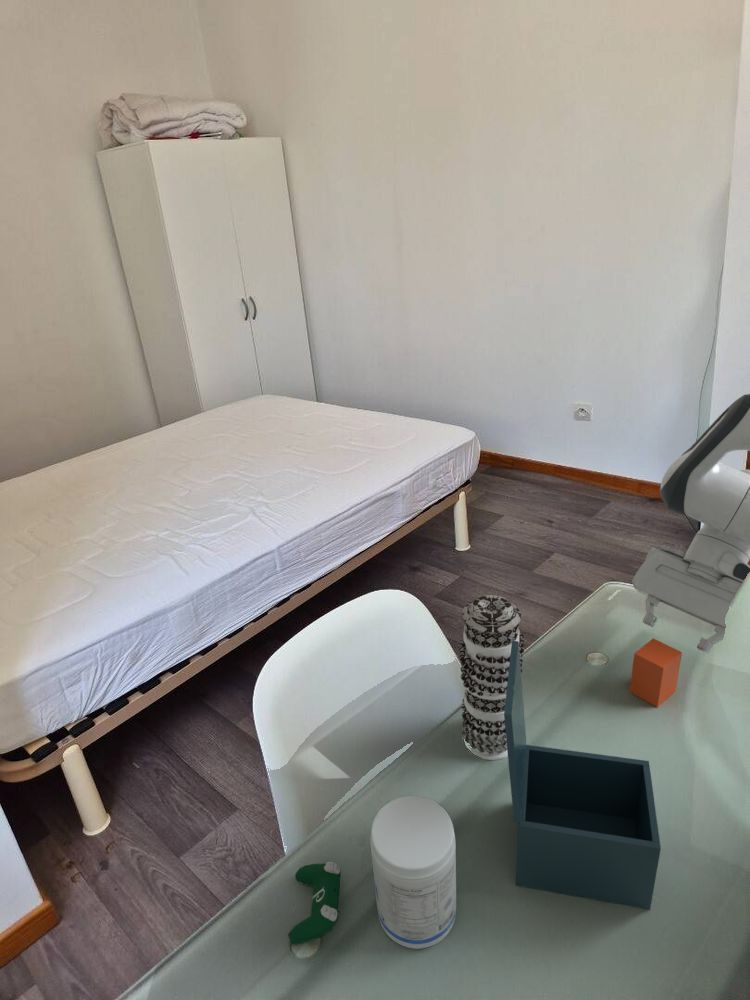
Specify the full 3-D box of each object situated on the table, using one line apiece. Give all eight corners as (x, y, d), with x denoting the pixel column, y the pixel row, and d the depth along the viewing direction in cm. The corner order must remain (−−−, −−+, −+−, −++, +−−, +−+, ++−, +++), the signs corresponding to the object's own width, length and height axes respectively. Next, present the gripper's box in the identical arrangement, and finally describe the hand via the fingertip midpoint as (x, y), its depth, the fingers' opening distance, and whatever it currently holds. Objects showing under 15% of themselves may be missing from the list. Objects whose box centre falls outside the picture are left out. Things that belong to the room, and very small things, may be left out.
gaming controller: (309, 957, 80) (343, 933, 78) (284, 943, 79) (317, 919, 77) (316, 882, 88) (346, 859, 86) (293, 869, 87) (323, 846, 85)
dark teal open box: (640, 819, 92) (648, 760, 87) (650, 910, 81) (660, 848, 76) (520, 801, 95) (523, 744, 91) (515, 885, 85) (517, 825, 80)
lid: (518, 641, 83) (511, 640, 84) (511, 714, 73) (503, 714, 73) (526, 741, 90) (520, 741, 91) (521, 823, 79) (514, 822, 80)
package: (675, 691, 113) (682, 652, 109) (657, 707, 109) (663, 668, 106) (647, 676, 116) (653, 638, 113) (629, 691, 113) (634, 653, 110)
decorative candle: (532, 737, 106) (539, 602, 95) (496, 772, 100) (498, 634, 89) (485, 708, 112) (486, 579, 101) (448, 740, 106) (445, 607, 95)
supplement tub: (377, 875, 87) (369, 794, 80) (452, 873, 87) (450, 790, 80) (377, 955, 78) (368, 870, 72) (461, 952, 78) (459, 867, 71)
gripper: (649, 534, 118) (611, 605, 117) (774, 581, 103) (731, 662, 102) (660, 547, 122) (623, 615, 121) (781, 594, 108) (740, 671, 107)
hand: (674, 637), depth 112 cm, fingers open, 8 cm apart
